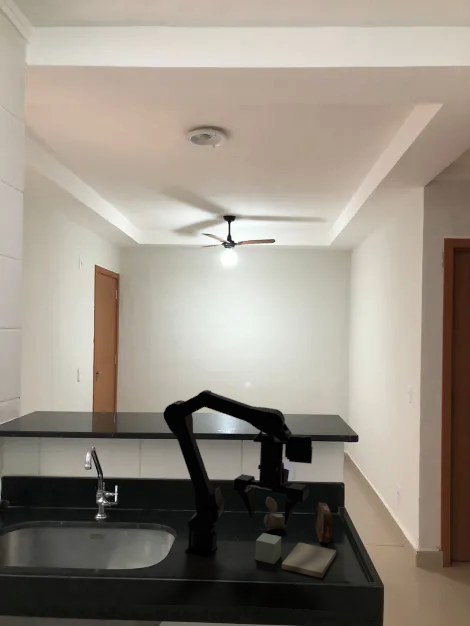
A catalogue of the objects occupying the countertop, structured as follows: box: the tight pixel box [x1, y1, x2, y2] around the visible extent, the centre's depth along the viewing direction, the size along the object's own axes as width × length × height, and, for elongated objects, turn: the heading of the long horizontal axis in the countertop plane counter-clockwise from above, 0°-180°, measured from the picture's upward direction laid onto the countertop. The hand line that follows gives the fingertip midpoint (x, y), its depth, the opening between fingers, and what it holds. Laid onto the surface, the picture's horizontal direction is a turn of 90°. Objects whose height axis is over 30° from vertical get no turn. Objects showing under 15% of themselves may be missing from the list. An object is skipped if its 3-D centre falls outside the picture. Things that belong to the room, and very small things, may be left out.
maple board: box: [281, 542, 337, 579], centre depth 135 cm, size 10×14×1 cm
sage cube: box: [255, 532, 282, 565], centre depth 136 cm, size 5×5×5 cm
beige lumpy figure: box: [263, 496, 287, 531], centre depth 156 cm, size 9×6×10 cm
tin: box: [314, 501, 333, 544], centre depth 151 cm, size 15×3×8 cm, turn 178°
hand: (268, 521), depth 136 cm, fingers open, 9 cm apart
